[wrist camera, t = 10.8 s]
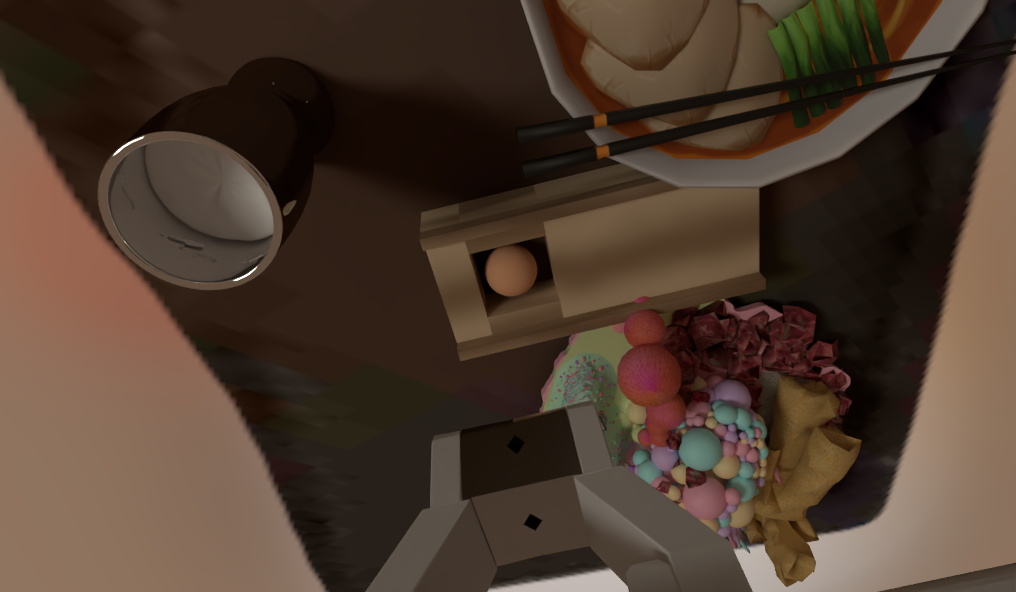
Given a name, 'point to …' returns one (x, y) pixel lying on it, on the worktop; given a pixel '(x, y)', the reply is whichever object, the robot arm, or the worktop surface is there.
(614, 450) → the pastel sphere sculpture
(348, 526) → the worktop surface
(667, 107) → the ramen bowl
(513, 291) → the ball
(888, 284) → the worktop surface
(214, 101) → the beer glass
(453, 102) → the worktop surface
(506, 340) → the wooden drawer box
